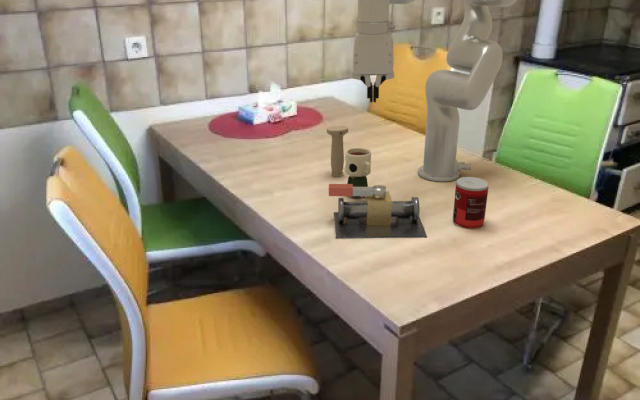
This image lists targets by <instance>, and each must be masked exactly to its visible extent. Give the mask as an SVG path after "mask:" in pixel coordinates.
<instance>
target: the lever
mask: <svg viewBox="0 0 640 400" xmlns="http://www.w3.org/2000/svg"><path fill="white" fill-rule="evenodd" d="M386 192H387V187H386V186H384V185H380V184H379V185H375V184H374V185H373V186H368V187H353V184H347V183H329V184H328V197H350V196H362V197H365V196H372V197H374V198H384V197H385V196H386Z"/></svg>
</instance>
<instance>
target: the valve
mask: <svg viewBox="0 0 640 400" xmlns="http://www.w3.org/2000/svg"><path fill="white" fill-rule="evenodd" d="M390 193H391V192H390V191H386V196H385V197H384V198H374V197H372V196H364V198H365V200H364V201H361V200H359V201H358V200H356V201H347V200H346V201H344V197H338V199H337V200H338V201H337V211H335V212H333V218H334V229H335V239H390V238H391V239H397V238H398V239H399V238H402V239H406V238H409V239H411V238H428V236H427V233H426V230H425V227H424V225H423V223H422V219H421V217H420V209H421V207H420V199H419V197H418V196H412V197H411V200H392V197H391V194H390Z"/></svg>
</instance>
